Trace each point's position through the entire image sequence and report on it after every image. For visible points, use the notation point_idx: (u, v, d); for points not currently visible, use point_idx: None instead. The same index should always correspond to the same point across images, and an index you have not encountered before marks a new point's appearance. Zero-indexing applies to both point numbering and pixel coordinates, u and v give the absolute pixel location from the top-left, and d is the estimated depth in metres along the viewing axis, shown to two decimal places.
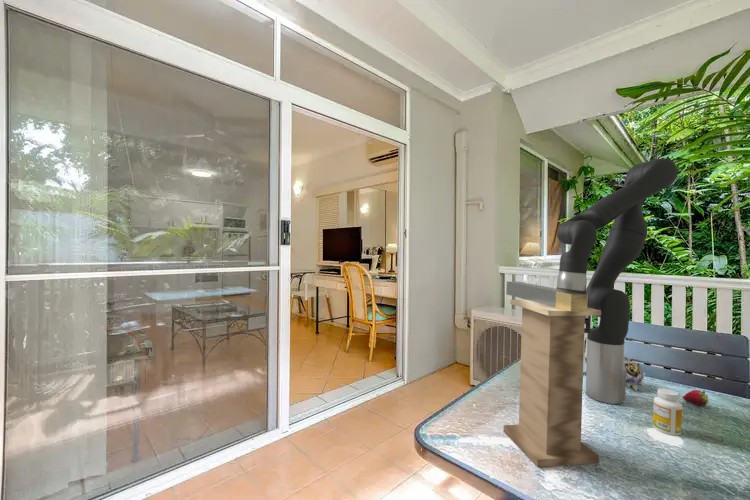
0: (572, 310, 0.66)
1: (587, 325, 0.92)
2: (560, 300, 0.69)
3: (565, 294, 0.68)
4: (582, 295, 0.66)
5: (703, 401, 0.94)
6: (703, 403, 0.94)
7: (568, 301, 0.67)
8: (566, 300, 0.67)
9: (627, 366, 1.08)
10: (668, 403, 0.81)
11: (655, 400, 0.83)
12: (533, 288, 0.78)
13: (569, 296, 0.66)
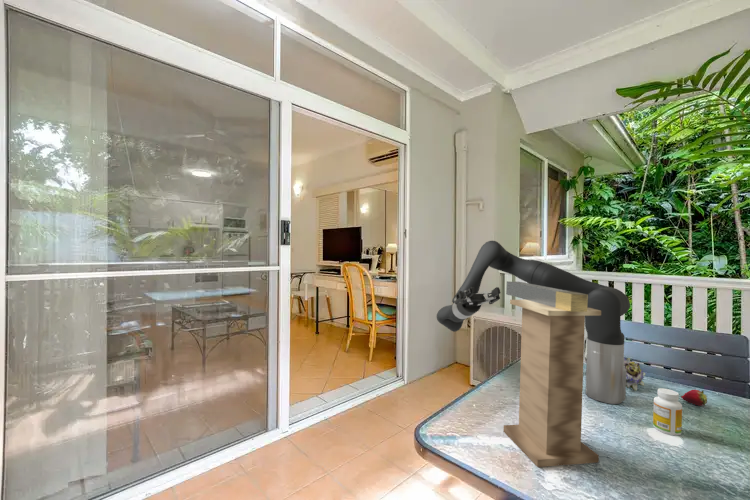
0: (572, 310, 0.66)
1: (458, 294, 1.09)
2: (560, 300, 0.69)
3: (565, 294, 0.68)
4: (582, 295, 0.66)
5: (702, 401, 0.95)
6: (702, 403, 0.95)
7: (568, 301, 0.67)
8: (566, 300, 0.67)
9: (627, 366, 1.08)
10: (668, 403, 0.81)
11: (655, 400, 0.83)
12: (533, 288, 0.78)
13: (569, 296, 0.66)
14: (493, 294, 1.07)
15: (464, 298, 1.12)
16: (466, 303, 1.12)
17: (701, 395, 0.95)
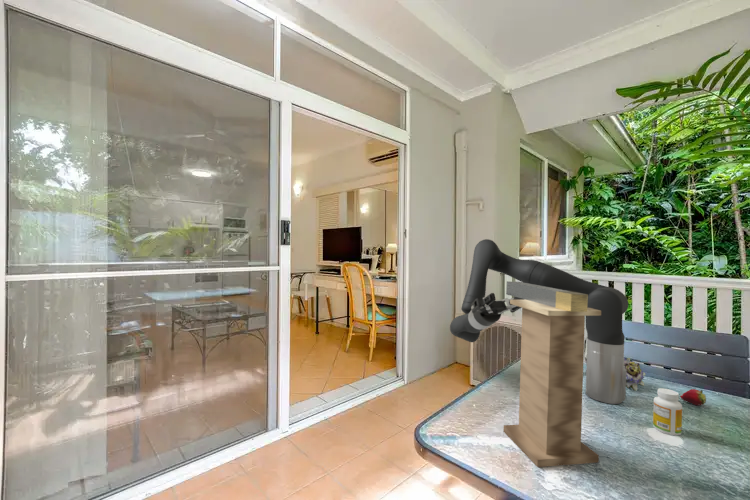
0: (572, 310, 0.66)
1: (476, 302, 0.97)
2: (560, 300, 0.69)
3: (565, 294, 0.68)
4: (582, 295, 0.66)
5: (701, 400, 0.95)
6: (701, 402, 0.95)
7: (568, 301, 0.67)
8: (566, 300, 0.67)
9: (627, 366, 1.08)
10: (668, 403, 0.81)
11: (655, 400, 0.83)
12: (533, 288, 0.78)
13: (569, 296, 0.66)
14: None
15: (482, 306, 0.99)
16: (485, 311, 1.00)
17: (700, 395, 0.95)
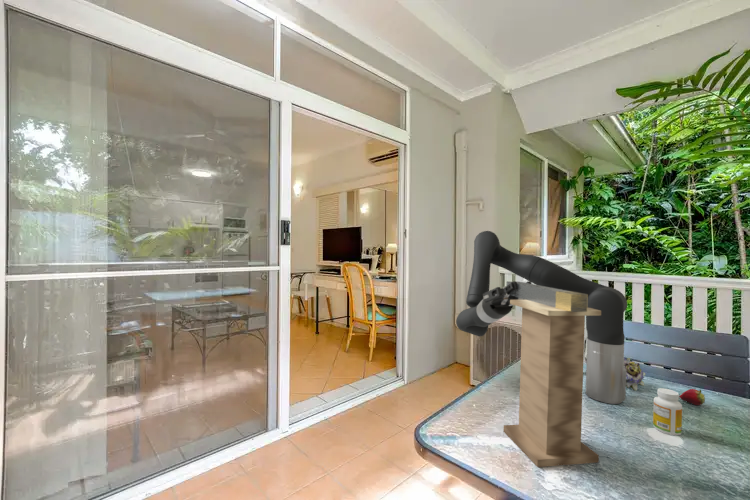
0: (572, 310, 0.66)
1: (494, 291, 0.90)
2: (560, 300, 0.69)
3: (565, 294, 0.67)
4: (582, 295, 0.66)
5: (699, 400, 0.95)
6: (699, 402, 0.95)
7: (568, 301, 0.67)
8: (566, 300, 0.67)
9: (627, 366, 1.08)
10: (668, 403, 0.81)
11: (655, 400, 0.83)
12: (533, 288, 0.78)
13: (569, 296, 0.66)
14: None
15: None
16: (494, 303, 0.94)
17: (699, 394, 0.95)
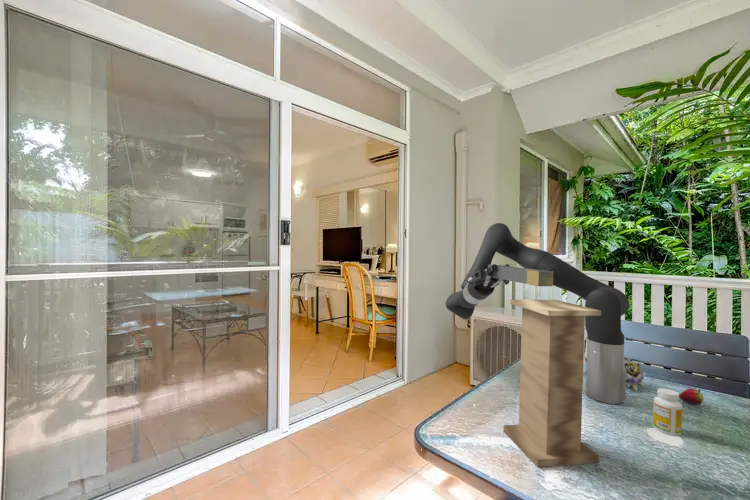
0: (539, 285, 0.76)
1: (476, 273, 1.00)
2: (530, 277, 0.79)
3: (534, 271, 0.78)
4: (548, 272, 0.77)
5: (698, 399, 0.95)
6: (698, 401, 0.95)
7: (536, 277, 0.77)
8: (535, 277, 0.77)
9: (627, 366, 1.08)
10: (668, 403, 0.81)
11: (655, 400, 0.83)
12: (509, 269, 0.88)
13: (537, 273, 0.77)
14: None
15: None
16: (478, 285, 1.04)
17: (698, 394, 0.96)
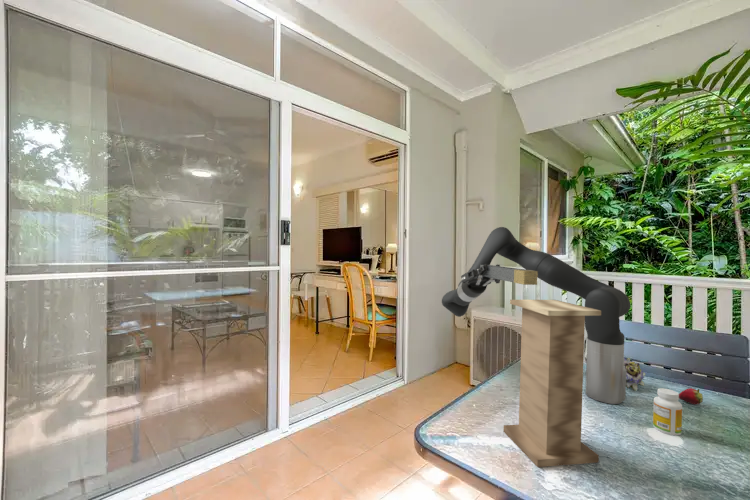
0: (525, 283, 0.84)
1: (469, 273, 1.08)
2: (517, 276, 0.86)
3: (520, 271, 0.85)
4: (533, 271, 0.84)
5: (697, 399, 0.95)
6: (697, 401, 0.96)
7: (522, 276, 0.84)
8: (521, 276, 0.85)
9: (627, 366, 1.08)
10: (668, 403, 0.81)
11: (655, 400, 0.83)
12: (499, 268, 0.96)
13: (523, 272, 0.84)
14: None
15: None
16: (471, 284, 1.11)
17: (697, 394, 0.96)
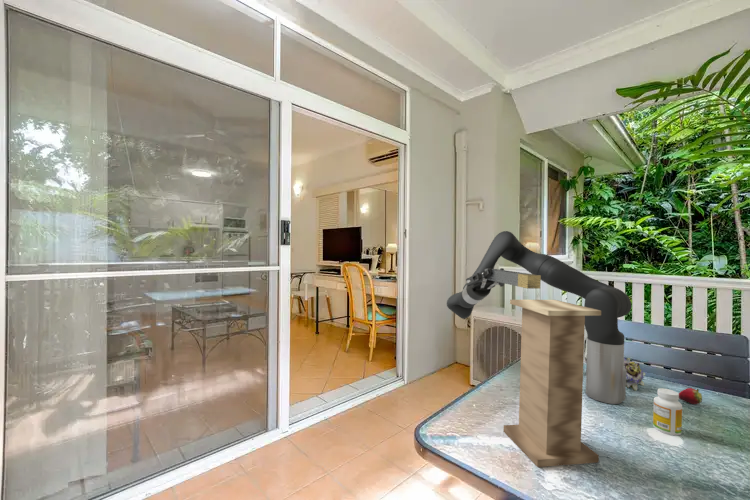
0: (528, 287, 0.87)
1: (474, 276, 1.11)
2: (520, 280, 0.90)
3: (524, 275, 0.88)
4: (536, 276, 0.87)
5: (697, 399, 0.96)
6: (697, 401, 0.96)
7: (526, 280, 0.87)
8: (525, 280, 0.88)
9: (627, 366, 1.08)
10: (668, 403, 0.81)
11: (655, 400, 0.83)
12: (503, 272, 0.99)
13: (526, 277, 0.87)
14: None
15: None
16: (475, 287, 1.14)
17: (696, 394, 0.96)
